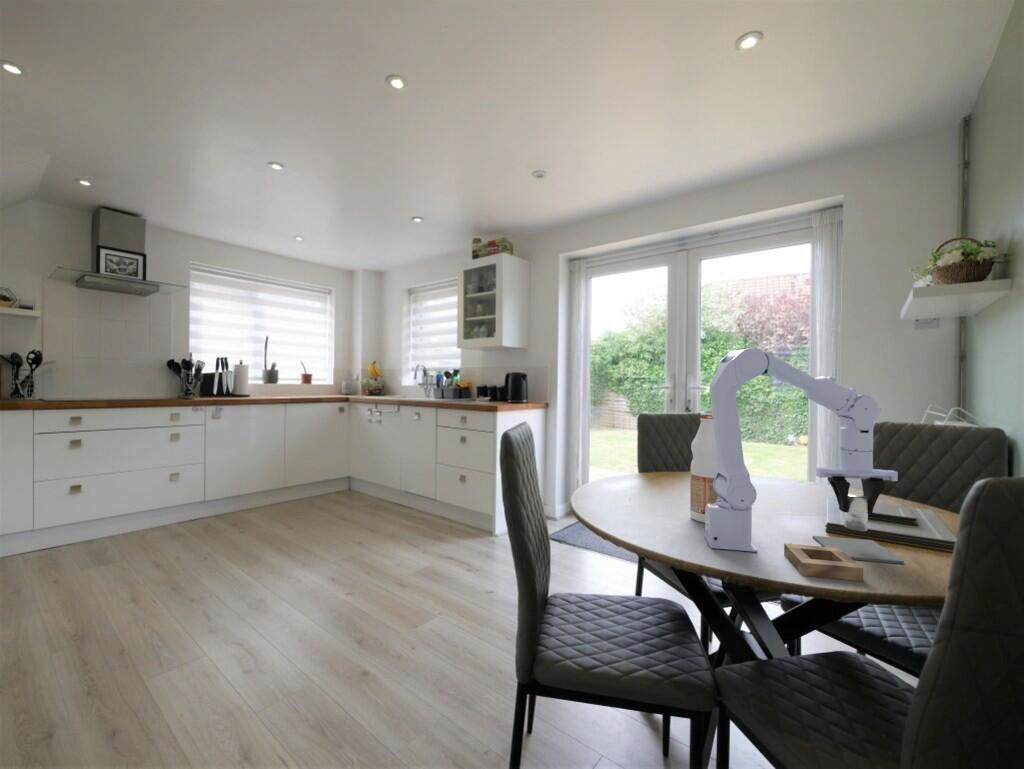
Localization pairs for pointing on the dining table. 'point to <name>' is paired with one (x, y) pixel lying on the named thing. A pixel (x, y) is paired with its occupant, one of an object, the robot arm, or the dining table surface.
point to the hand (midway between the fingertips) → (855, 511)
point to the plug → (856, 512)
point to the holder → (823, 562)
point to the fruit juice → (703, 468)
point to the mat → (859, 549)
